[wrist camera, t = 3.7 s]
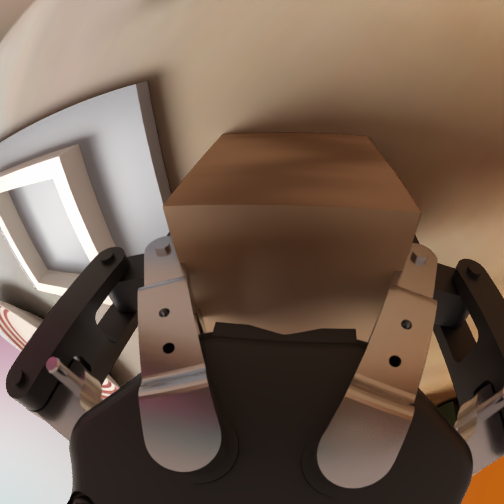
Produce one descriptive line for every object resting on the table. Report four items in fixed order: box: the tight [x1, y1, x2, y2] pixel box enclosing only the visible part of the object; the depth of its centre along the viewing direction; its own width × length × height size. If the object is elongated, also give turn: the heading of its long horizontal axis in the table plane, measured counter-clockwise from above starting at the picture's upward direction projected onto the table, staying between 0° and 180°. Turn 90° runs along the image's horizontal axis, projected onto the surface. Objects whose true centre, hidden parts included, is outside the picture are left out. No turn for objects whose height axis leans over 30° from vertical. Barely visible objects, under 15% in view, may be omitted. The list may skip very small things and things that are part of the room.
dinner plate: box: [0, 301, 120, 399], centre depth 32 cm, size 27×27×3 cm
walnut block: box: [162, 132, 421, 342], centre depth 10 cm, size 6×6×6 cm
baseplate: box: [0, 81, 171, 305], centre depth 14 cm, size 18×14×2 cm
